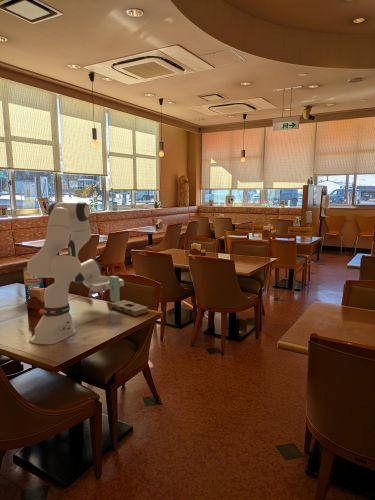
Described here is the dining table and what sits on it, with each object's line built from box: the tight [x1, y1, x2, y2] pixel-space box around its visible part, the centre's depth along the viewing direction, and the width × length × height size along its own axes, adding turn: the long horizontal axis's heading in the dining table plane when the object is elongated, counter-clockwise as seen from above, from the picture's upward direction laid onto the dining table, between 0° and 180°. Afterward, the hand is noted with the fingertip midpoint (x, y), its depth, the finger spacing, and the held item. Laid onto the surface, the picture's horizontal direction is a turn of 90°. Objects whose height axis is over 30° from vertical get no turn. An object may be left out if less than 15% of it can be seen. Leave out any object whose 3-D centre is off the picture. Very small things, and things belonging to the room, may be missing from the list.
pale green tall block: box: [108, 275, 121, 303], centre depth 205 cm, size 5×3×14 cm, turn 47°
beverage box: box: [23, 266, 44, 303], centre depth 233 cm, size 7×11×22 cm, turn 113°
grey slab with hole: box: [110, 299, 149, 317], centre depth 215 cm, size 22×10×3 cm, turn 47°
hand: (115, 287), depth 204 cm, fingers closed on pale green tall block, 3 cm apart
